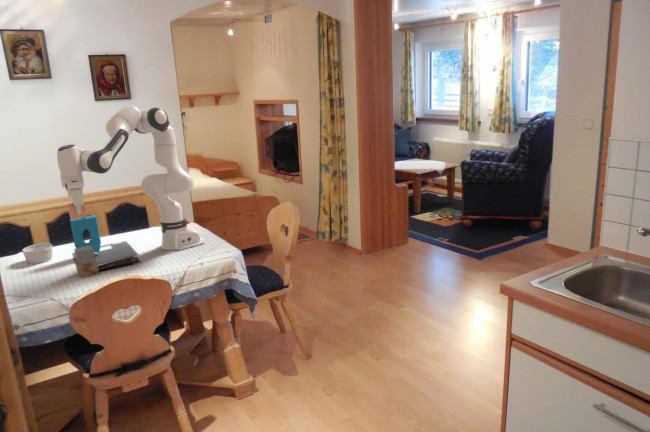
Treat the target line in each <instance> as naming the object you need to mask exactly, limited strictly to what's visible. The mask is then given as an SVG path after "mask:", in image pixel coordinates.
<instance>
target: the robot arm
mask: <svg viewBox="0 0 650 432" xmlns="http://www.w3.org/2000/svg"><path fill="white" fill-rule="evenodd" d="M105 130H106V132H107V135H108V136H109V137H110V139H109V141H108V142H106V144H105V146H104V147H102V148H101V149H98V150H88V149H84V148H81V147H79V146H77V145H76V144H65V145H62V146H61V147H58V149H57V153H56V158H57V167H58V168H59V170H60V174H59V175H60V183H61V187H62V188H63V189H64V188H65V191H66V192H67V196H68V200H69V201H70V202H71V204H72V203H73V204H74V206H75V207H76V212H77V214H81V206H82V205H83V204H84V205H85V203H84V201H85V200H84V190H83V188H85V187H84V186H85V181H84V176H83V175H84V174H83V172H88V173H96V174H100V175H101V174H105V173H107V172H108V171H109V170H111V167H112V166H113V163H114V160H115V159H116V157H117V156H118V154H119V153H120V152H121V150H122V149H123V148H124V146H125V145H126V143H127V142H128V139H129V137H130V135H131V134H132V133H133V132H134V131H135V132H136V133H138V134H140V135H141V134H143V135H144V134H149V133H151V135H152V137H153V149H154V150H153V151H154V160H155V163H156V164H157V165H158V166H160V167H162V168H165V169H166V170H167V172H165V173H154V174H149V175H146V176H144V177H143V178H142V180H141V190H142V191H143V193H145V194H146V195H147V196H149V197H150V198H151V199H152V200H154V202H155V203H156V205H157V207H158V211H159V215H160V231H161V234H162V237H161V239H162V240H161V245H160V246H161V249H162V250H164V251H165V250H166V251H182V250H187V249H190V248H193V247H197V246H201V245H205V243H206V241H205V239H204V238H203V237H201V235H200V233H199V231H198V230H197V229H195V228H194V227H192V226H190V224H191V221H190V220H189V219H185V218H184V216H183V207H182V205H181V203H179V202H178V201H177V200H173V199H172V198H171V197H170V196H169V195H182V194H186V193H190V192H191V191H192V189H193V187H194V180H193V177H192V176H191V175H190V174H189V173H188V172H186V171H185V170H184V169H183V167H182V166H181V165H180V162H179V158H178V149H177V139H176V133H175V130H174V128H173V126H171V125H170V121H169V116H168V114H167V112H166V110H165V109H163V108H162V107H161V108H160V107H152V108H148V109H147V108H146V109H144V110H142V111H141V110H140V109H139V108H138V107H137V106H134V105H131V104H128V105H125V106H124V107H122V108H121V109H120V110H118V111H117V112H116V113H115V114H114V115H112V116H111V118H110V119H109V120H108V121H107V122H106V124H105Z"/></svg>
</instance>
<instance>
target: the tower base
mask: <svg viewBox="0 0 650 432" xmlns="http://www.w3.org/2000/svg"><path fill="white" fill-rule="evenodd" d="M75 268H76V271H77V274H78V277H79V278H86V277H91V276H95V275H99V273H100V272H99V265H98V261H97V260H96V262H91V263H87V264H82V265H79V264H78V262H77V260H75Z"/></svg>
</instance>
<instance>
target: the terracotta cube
mask: <svg viewBox="0 0 650 432" xmlns="http://www.w3.org/2000/svg"><path fill="white" fill-rule="evenodd" d="M67 208H68V213H69V214H68V215H69V218H70V219H72V220H73V219H79V218H84V217H87V212H86V206H85V203H84V204H83V205H82V206H81V214H77V212H76V207H75V206H74V204H73V203H72V202H71V203H67Z"/></svg>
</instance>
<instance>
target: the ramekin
mask: <svg viewBox="0 0 650 432" xmlns="http://www.w3.org/2000/svg"><path fill="white" fill-rule="evenodd" d="M22 254H23V255H24V258H25V261H26V262H27V263H28V264H31V265H32V264H33V265H35V264H36V265H37V264H42V263H46V262H49V261H51V260H52V258H53V245H52V243H48V242H47V243H43V242H42V243H37V244H31V245H29V246H26V247H24V248H23V249H22Z"/></svg>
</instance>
